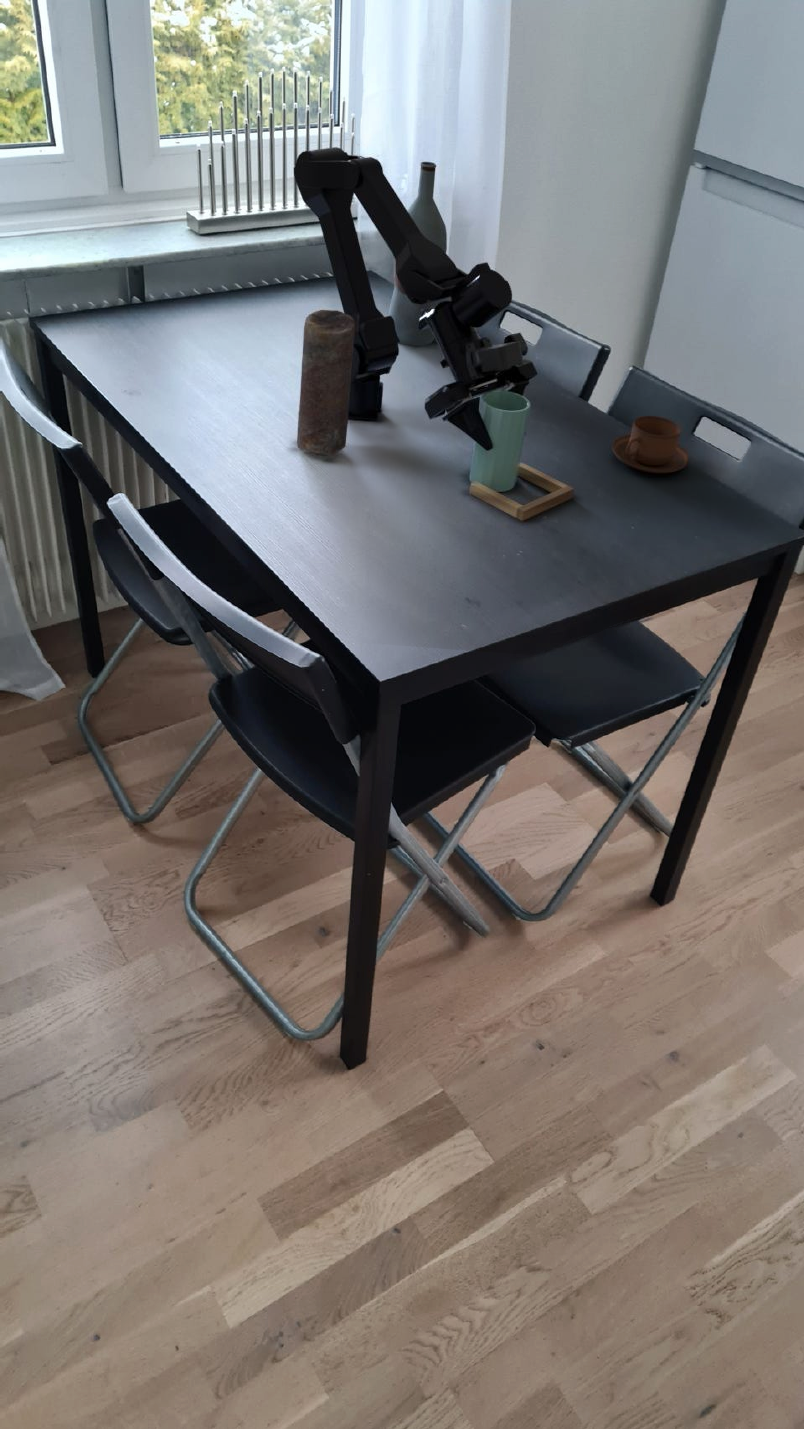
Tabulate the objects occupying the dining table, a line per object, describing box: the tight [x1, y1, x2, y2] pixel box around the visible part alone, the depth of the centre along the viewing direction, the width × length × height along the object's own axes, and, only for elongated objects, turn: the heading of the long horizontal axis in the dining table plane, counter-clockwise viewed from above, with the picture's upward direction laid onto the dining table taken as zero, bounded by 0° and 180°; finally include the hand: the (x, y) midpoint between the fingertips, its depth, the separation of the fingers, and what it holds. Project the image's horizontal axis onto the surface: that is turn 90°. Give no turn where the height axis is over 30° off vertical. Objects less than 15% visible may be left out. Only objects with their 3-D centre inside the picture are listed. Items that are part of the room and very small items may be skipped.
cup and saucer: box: [612, 415, 690, 474], centre depth 173 cm, size 12×12×6 cm
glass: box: [469, 391, 531, 493], centre depth 161 cm, size 7×7×12 cm
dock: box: [468, 462, 575, 522], centre depth 162 cm, size 10×12×2 cm
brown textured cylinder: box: [296, 309, 355, 457], centre depth 162 cm, size 8×7×20 cm
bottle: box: [388, 161, 448, 347], centre depth 198 cm, size 9×9×30 cm
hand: (506, 443), depth 160 cm, fingers closed on glass, 7 cm apart
